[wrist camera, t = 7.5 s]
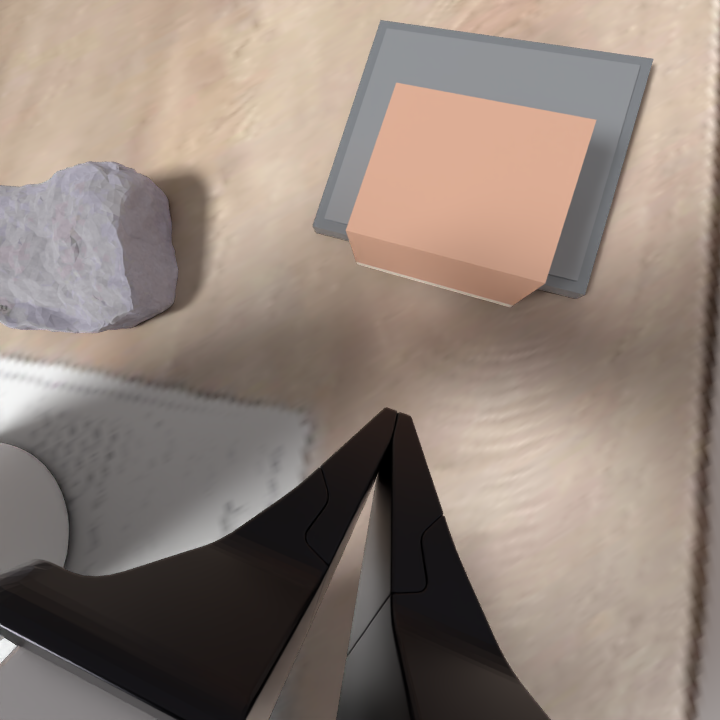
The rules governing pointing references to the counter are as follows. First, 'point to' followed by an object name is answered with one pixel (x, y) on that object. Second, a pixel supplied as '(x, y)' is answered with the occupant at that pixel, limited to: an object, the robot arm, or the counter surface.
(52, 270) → the stone block
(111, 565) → the counter surface
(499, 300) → the salmon orange block
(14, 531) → the cylinder vase
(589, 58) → the slate board
